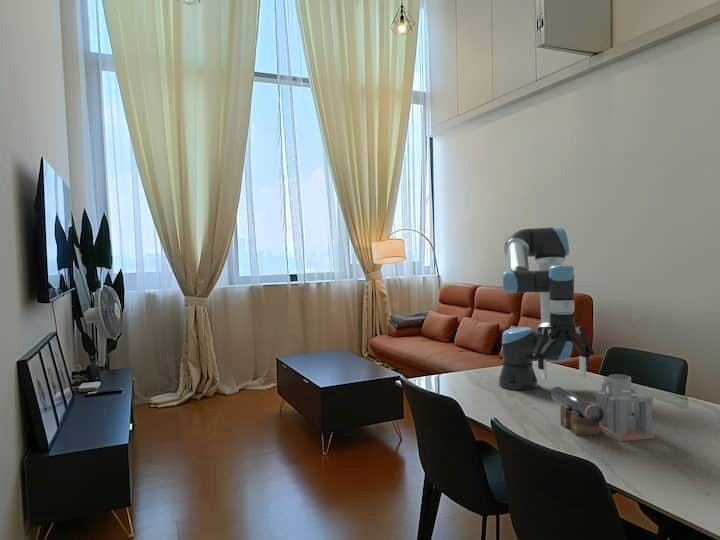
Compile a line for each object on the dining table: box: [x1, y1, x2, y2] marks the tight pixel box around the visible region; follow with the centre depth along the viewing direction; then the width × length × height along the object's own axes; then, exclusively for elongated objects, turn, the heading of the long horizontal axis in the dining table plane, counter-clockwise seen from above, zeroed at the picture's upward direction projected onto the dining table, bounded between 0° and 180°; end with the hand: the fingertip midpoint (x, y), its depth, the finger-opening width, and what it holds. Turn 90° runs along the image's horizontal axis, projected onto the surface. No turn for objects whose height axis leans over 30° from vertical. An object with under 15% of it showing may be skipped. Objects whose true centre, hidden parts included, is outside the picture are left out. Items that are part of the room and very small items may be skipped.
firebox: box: [595, 390, 656, 442], centre depth 154 cm, size 19×11×12 cm, turn 7°
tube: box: [550, 386, 604, 423], centre depth 156 cm, size 22×5×5 cm, turn 7°
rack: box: [559, 404, 600, 436], centre depth 155 cm, size 9×7×6 cm
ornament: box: [619, 385, 639, 414], centre depth 167 cm, size 6×7×10 cm
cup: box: [600, 373, 632, 399], centre depth 179 cm, size 7×10×9 cm
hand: (563, 377), depth 163 cm, fingers open, 13 cm apart
